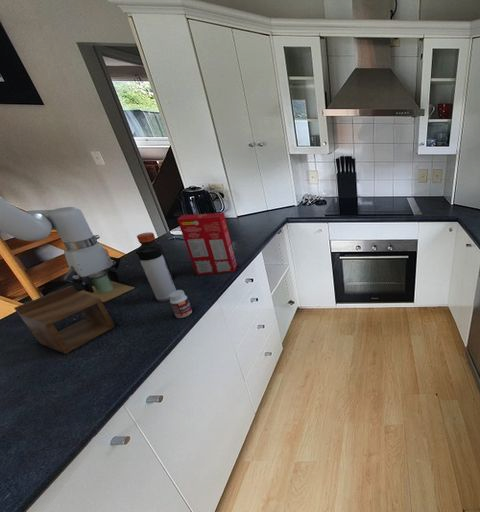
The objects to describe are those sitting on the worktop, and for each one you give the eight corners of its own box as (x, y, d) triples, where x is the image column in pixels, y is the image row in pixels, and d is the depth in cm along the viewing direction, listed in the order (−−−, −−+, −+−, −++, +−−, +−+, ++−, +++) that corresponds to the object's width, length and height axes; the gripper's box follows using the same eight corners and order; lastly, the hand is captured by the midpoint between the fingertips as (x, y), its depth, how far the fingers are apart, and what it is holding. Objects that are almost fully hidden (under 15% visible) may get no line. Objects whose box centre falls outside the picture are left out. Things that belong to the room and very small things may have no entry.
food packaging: (237, 266, 122) (223, 212, 111) (234, 272, 118) (220, 216, 107) (200, 269, 119) (182, 214, 108) (196, 275, 115) (177, 219, 103)
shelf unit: (40, 343, 79) (13, 307, 73) (91, 318, 89) (71, 285, 83) (65, 354, 76) (40, 317, 70) (115, 326, 86) (97, 292, 80)
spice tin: (94, 292, 102) (85, 276, 99) (109, 286, 106) (101, 270, 103) (102, 294, 101) (94, 278, 97) (117, 288, 104) (109, 272, 101)
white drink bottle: (154, 278, 112) (136, 233, 103) (174, 274, 115) (158, 230, 106) (151, 286, 107) (131, 239, 98) (172, 282, 110) (154, 236, 101)
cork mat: (76, 294, 101) (75, 293, 101) (107, 280, 110) (107, 280, 110) (104, 302, 97) (103, 301, 97) (135, 288, 105) (134, 287, 105)
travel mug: (151, 300, 98) (129, 251, 90) (168, 290, 104) (149, 243, 95) (165, 303, 97) (144, 253, 88) (181, 293, 103) (163, 245, 94)
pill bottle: (184, 319, 90) (176, 298, 86) (172, 317, 90) (163, 296, 87) (195, 310, 94) (188, 289, 90) (183, 308, 95) (175, 288, 91)
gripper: (103, 233, 103) (123, 273, 111) (39, 251, 88) (67, 296, 96) (117, 235, 101) (135, 276, 109) (53, 255, 86) (80, 301, 94)
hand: (103, 286), depth 102 cm, fingers open, 7 cm apart
